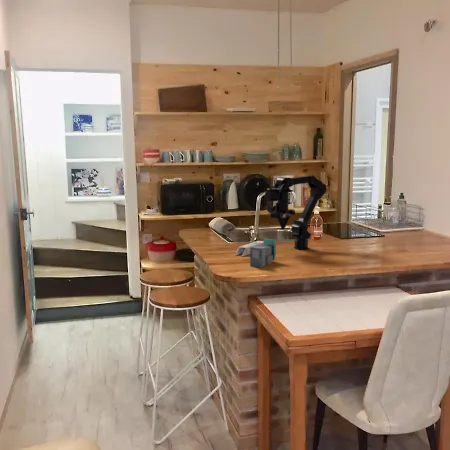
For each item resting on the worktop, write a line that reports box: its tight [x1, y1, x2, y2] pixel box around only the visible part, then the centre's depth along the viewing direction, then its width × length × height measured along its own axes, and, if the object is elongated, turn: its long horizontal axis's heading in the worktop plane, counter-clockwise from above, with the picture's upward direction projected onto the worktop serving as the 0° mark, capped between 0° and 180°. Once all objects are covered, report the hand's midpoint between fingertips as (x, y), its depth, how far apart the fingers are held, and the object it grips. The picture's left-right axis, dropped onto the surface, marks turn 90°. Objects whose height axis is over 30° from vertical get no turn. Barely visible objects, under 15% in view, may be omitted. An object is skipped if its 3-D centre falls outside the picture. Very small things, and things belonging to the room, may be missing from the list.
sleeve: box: [262, 246, 274, 266], centre depth 244 cm, size 6×6×8 cm
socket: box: [249, 246, 266, 268], centre depth 238 cm, size 4×6×9 cm, turn 56°
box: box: [233, 240, 264, 258], centre depth 269 cm, size 4×4×28 cm
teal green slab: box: [263, 238, 277, 261], centre depth 243 cm, size 13×6×10 cm, turn 146°
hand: (282, 229), depth 271 cm, fingers closed
